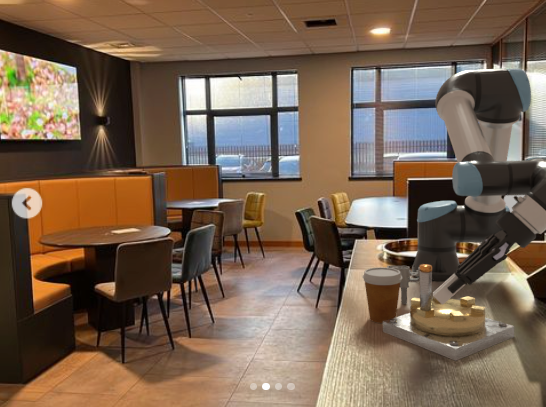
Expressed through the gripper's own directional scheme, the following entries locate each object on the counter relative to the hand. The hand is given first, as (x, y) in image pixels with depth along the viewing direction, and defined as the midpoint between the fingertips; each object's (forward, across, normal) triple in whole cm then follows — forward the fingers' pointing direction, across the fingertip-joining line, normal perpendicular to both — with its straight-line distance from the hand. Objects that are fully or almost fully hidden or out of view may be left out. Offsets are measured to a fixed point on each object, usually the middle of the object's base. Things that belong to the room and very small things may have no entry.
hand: (437, 298), depth 112 cm
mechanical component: (+12, -26, +2) cm, 29 cm away
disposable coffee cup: (+16, -13, -2) cm, 21 cm away
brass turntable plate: (+3, -5, +7) cm, 9 cm away
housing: (+5, -5, +9) cm, 11 cm away
